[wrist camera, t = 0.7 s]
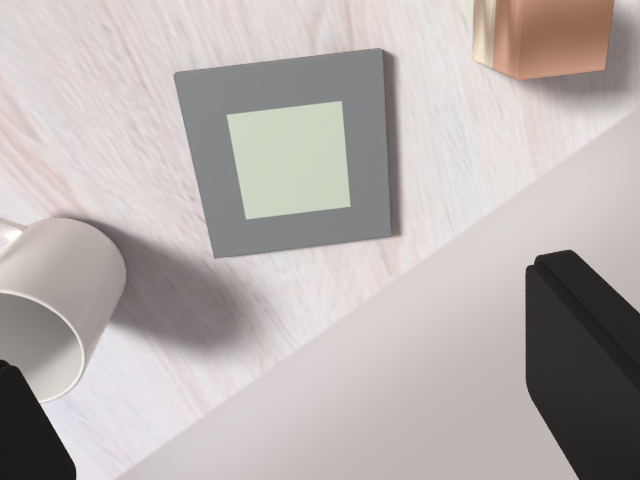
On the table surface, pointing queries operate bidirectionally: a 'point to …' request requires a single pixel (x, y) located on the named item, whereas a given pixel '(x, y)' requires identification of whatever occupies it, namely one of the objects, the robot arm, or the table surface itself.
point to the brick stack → (541, 36)
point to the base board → (289, 151)
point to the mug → (56, 299)
